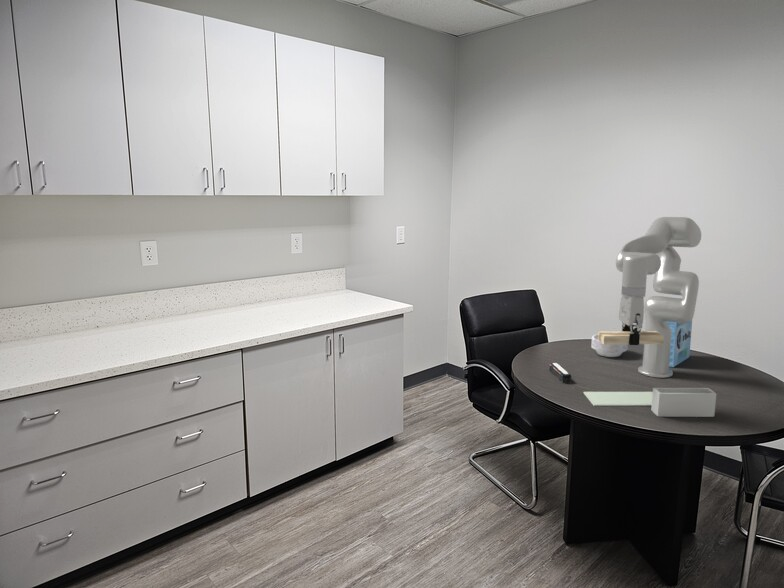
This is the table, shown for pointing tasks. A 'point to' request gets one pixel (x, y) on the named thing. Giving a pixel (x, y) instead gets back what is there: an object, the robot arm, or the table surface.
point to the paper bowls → (608, 348)
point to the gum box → (679, 342)
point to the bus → (560, 373)
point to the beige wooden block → (623, 337)
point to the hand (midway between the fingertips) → (630, 341)
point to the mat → (620, 398)
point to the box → (683, 402)
